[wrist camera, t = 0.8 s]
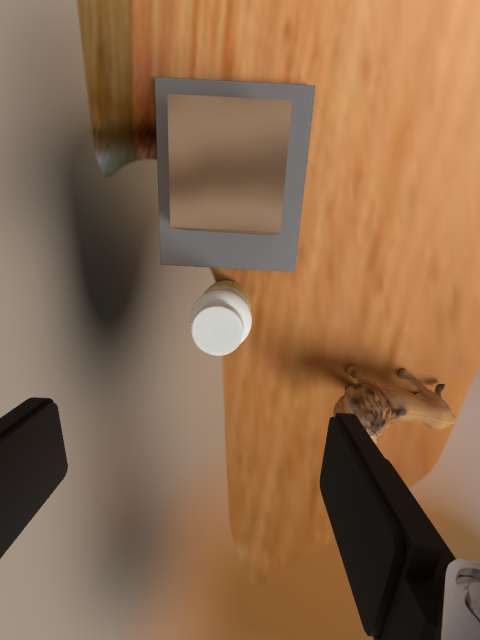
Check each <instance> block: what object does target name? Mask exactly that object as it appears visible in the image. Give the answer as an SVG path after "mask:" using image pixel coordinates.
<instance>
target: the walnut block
mask: <svg viewBox="0 0 480 640" xmlns="http://www.w3.org/2000/svg"><path fill="white" fill-rule="evenodd" d="M167 97H168V145H169V193H170V227H174V228H177V229H181V230H186V231H204V232H222V233H240V234H258V235H276V234H278V233H280V230H281V219H282V208H283V198H284V187H285V176H286V165H287V154H288V143H289V133H290V122H291V111H292V100H275V99H256V98H237V97H218V96H199V95H180V94H167Z"/></svg>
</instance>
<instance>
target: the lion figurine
mask: <svg viewBox="0 0 480 640" xmlns="http://www.w3.org/2000/svg"><path fill="white" fill-rule="evenodd" d="M347 373H348V374H349V375H352V377H354V378H356V379H357V380H358V382H359V383H356V384H355V386H350V387H349V388H347V389H345V394H344V395H343V396H342V397H341V398H340V399H339V400H338V403H336V404H335V407H334V411H333V417H335V415H336V413H351V414H355V415H356V416H357V417H358V419H359V420H360V422H361V423H362V425H363V426H364V428H365V429H366V431H367V432H368V434H369V435H370V437H371V438H372V440H373V442H374V443H377V437H378V436H379V435H380V434H381V433H382V432H381V431H382V430H384V429H386V428H388V427H389V425H390V424H391V423H392V422H393V421H395V420H401V421H415V422H420V423H422V424H424V425H426V426H428V427H430V428H432V429H437V430H440V429H445V428H447V427H448V426H449V425H452V424H453V423H454V422H455V416H454V415H453V413H452V410H451V408H450V407H449V406H448V404H447V403H446V402H445V401H444V400H443V399H442V398H441V391H442V390H443V389H444V387H445V384H438V385H437V386H436V389H435V393H434V392H432V391H431V390H429V389H428V388H426V387H425V386H423V384H422V383H421V382H420V381H419V380H417V379H416V378H415V377H414V376H413V375H412V374H411V373H410V372H409V371H408V370H406V369H402V370H400V372H399V377H400V378H402V379H405V380H408V381H410V382H411V383H412V384H413V385H414V386H415V387H416V388H417V390H418V392H419V393H417V394H415V395H414V394H412V393H410V392H408V391H405V390H403V389H399V388H395V387H380V386H378V385H377V384H376V383H375V382H373V381H372V380H370V379H369V378H368V377H366V376H365V375H364V374H363V373H362V372H361V371H360V370H359V369H358V368H357V367H355V366H350V367H349V368H348V369H347Z"/></svg>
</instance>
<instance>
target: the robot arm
mask: <svg viewBox="0 0 480 640" xmlns="http://www.w3.org/2000/svg"><path fill="white" fill-rule="evenodd" d="M67 469H68V465H67V458H66V453H65V447H64V441H63V435H62V429H61V424H60V418H59V412H58V407H57V405H56V404H55V403H54V402H53V400H52V399H50V398H35V397H34V398H29V399H27V400H26V401H24V402H23V403H22V404H20V405H19V406H17V407H16V408H14V409H13V410H11V411H10V412H8V413H7V414H6V415H4V416H3V417H1V418H0V558H1V557H2V556H3V555H4V553H5V552H6V551H7V550H8V548H9V547H10V546H11V544H12V543H13V542H14V541H15V539H16V538H17V537H18V536H19V534H20V533H21V532H22V531H23V529H24V528H25V527H26V525H27V524H28V523H29V522H30V520H31V519H32V518H33V517H34V515H35V514H36V513H37V512H38V510H39V509H40V508H41V506H42V505H43V504H44V503H45V501H46V500H47V499H48V498H49V496H50V495H51V494H52V493H53V491H54V490H55V489H56V487H57V486H58V485H59V484H60V482H61V481H62V480H63V478H64V477H65V475H66V473H67ZM320 489H321V493H322V497H323V500H324V503H325V506H326V509H327V513H328V516H329V519H330V522H331V525H332V529H333V532H334V535H335V538H336V542H337V545H338V548H339V551H340V554H341V558H342V561H343V564H344V567H345V570H346V574H347V577H348V580H349V583H350V586H351V590H352V593H353V596H354V599H355V602H356V606H357V609H358V612H359V615H360V619H361V621H362V625H363V627H364V630H365V632H366V633H367V635H368V636H373V638H374V640H480V563H478V562H474V561H471V560H467V559H456V558H455V557H454V555H453V554H452V553H451V551H450V549H449V548H448V546H447V545H446V544H445V542H444V541H443V539H442V538H441V536H440V535H439V533H438V532H437V530H436V529H435V527H434V526H433V524H432V523H431V521H430V520H429V518H428V517H427V516H426V514H425V513H424V511H423V510H422V508H421V507H420V505H419V504H418V502H417V501H416V499H415V498H414V496H413V495H412V494H411V492H410V491H409V489H408V488H407V486H406V485H405V483H404V482H403V480H402V479H401V477H400V476H399V474H398V473H397V471H396V470H395V468H394V467H393V465H392V464H391V463H390V462H389V461H388V460H387V459H385V458H384V457H383V455H382V454H381V452H380V451H379V449H378V448H377V446H376V445H375V443H374V442H373V440H372V438H371V437H370V435H369V434H368V432H367V431H366V429H365V428H364V426H363V425H362V423H361V422H360V420H359V419H358V417H357V416H356V415H355V414H351V413H336V415H335V417H331V418H330V420H329V426H328V432H327V438H326V445H325V451H324V457H323V463H322V469H321V475H320Z"/></svg>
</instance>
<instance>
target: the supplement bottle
mask: <svg viewBox="0 0 480 640" xmlns="http://www.w3.org/2000/svg"><path fill="white" fill-rule="evenodd" d="M190 322H191V332H192V337H193V340H194V342H195V344H196V345H197V346H198V347H199V348H200V349H201V350H203V351H204V352H206V353H208V354H211V355H217V356H221V355H226V354H229V353H231V352H232V351H234V350H235V349H236V348H237V347H238V346H239V345H240V343H242V342H243V341H244V340H245V338H246V337H247V336H248V334H249V331H250V329H251V324H252V315H251V302H250V297H249V295H248V293H247V291H246V290H245V289H244V288H243V287H242V286H241V285H240V284H238V283H236V282H233V281H228V280H224V281H219V282H216V283H214V284H213V285H211V286H210V287H209V288H208V289H207V290H206V291H205V293H204V294H203V295H202V296H201V297H200V298H199V299H198V300H197V302H196V303H195V305H194V306H193V309H192V312H191V317H190Z"/></svg>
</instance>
